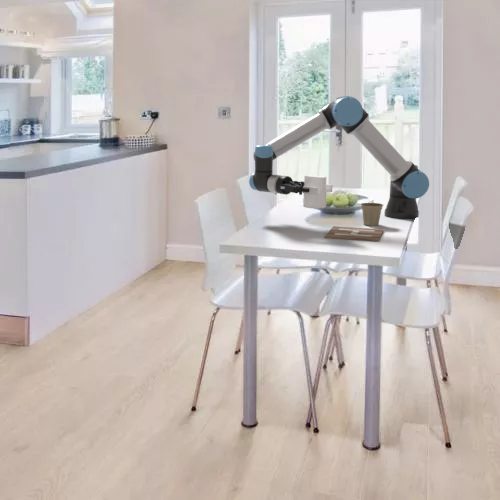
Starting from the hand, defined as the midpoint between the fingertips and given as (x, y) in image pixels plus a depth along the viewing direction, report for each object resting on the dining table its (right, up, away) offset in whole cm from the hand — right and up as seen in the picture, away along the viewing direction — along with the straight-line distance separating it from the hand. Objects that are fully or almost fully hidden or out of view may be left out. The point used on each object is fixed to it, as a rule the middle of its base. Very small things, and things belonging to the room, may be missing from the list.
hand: (324, 189), depth 246 cm
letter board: (+12, -17, -1) cm, 21 cm away
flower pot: (+22, -13, +19) cm, 32 cm away
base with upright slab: (-3, -6, +5) cm, 9 cm away
